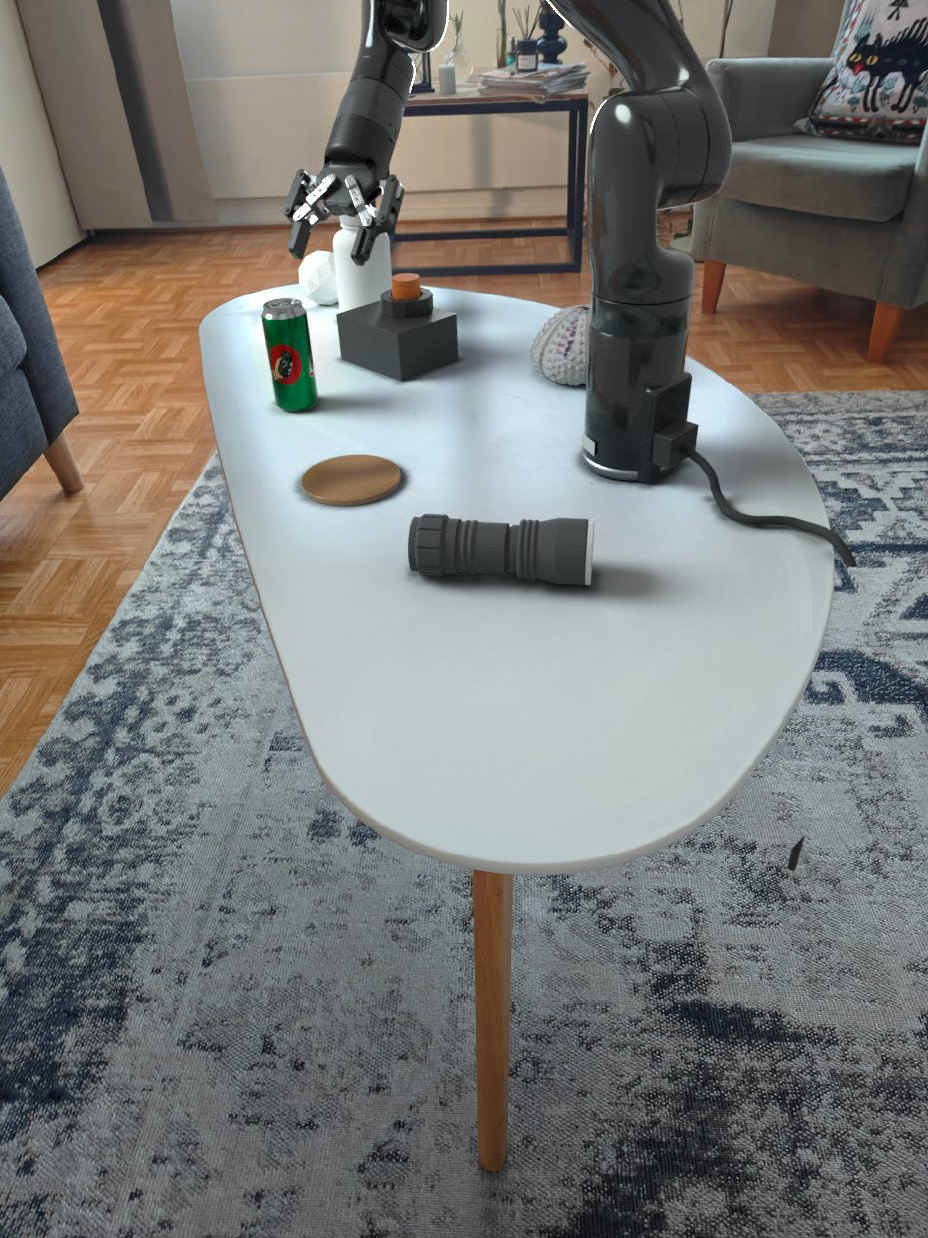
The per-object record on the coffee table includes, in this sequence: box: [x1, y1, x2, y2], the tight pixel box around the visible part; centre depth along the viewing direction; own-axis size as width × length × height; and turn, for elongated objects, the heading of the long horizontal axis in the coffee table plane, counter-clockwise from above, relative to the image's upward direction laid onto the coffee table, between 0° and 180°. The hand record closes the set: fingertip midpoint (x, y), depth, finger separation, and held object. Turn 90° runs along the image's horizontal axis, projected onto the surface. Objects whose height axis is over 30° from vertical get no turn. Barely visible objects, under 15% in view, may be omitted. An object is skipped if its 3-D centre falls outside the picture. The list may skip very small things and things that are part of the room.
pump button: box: [391, 272, 421, 300], centre depth 114 cm, size 4×4×2 cm
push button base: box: [335, 286, 459, 383], centre depth 116 cm, size 12×10×8 cm
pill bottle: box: [332, 206, 393, 313], centre depth 128 cm, size 8×8×15 cm
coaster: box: [300, 454, 402, 507], centre depth 91 cm, size 10×10×1 cm
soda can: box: [260, 297, 319, 413], centre depth 104 cm, size 5×5×12 cm
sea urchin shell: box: [529, 303, 591, 386], centre depth 110 cm, size 13×14×8 cm
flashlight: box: [407, 513, 595, 586], centre depth 75 cm, size 15×5×5 cm, turn 81°
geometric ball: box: [298, 249, 339, 306], centre depth 137 cm, size 8×8×8 cm
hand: (325, 258), depth 105 cm, fingers open, 8 cm apart
